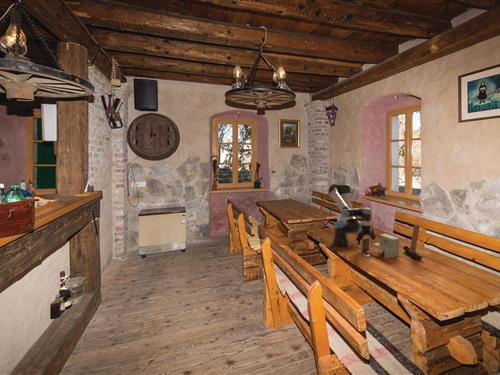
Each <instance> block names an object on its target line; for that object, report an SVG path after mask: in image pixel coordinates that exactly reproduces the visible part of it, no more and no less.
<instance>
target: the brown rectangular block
mask: <svg viewBox="0 0 500 375" xmlns="http://www.w3.org/2000/svg"><path fill="white" fill-rule="evenodd" d="M361 249H362V252H364V253H368V254H371V255H372V256H374V257H375V258H380V257H381V255H380V254H378V253H377V252H376V253H375V252H374V251H372V250H370V238H369V237H363V238H362V239H361Z"/></svg>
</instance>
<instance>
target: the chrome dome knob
mask: <svg viewBox="0 0 500 375" xmlns="http://www.w3.org/2000/svg"><path fill="white" fill-rule="evenodd" d="M371 255H372V254H370V253H367V252H364V253H363V257H366V258H370V257H371Z"/></svg>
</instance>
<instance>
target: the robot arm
mask: <svg viewBox="0 0 500 375" xmlns="http://www.w3.org/2000/svg"><path fill="white" fill-rule="evenodd" d="M327 192H328V195H329V197H330V198H332V199H333V201H334V203H335V204H336V206H338V208H339V210H341V211H340V214H341V217H342V218H345V220H343V219H342V220H337V221H335V222H334V237H333V240H332V245H334V246H337V247H341V248H342V247H347V246H349V240H348V235H349V234H357V236H356V238H355V241H357V248H359V249H362V240H363V238H364V236H369V237H370V238H369V247H373V246H372V244H374V240H375V239H376V238H377V237H376V235H375V233H374V229H373V228H371V227H372V225H371V224H372V221H371V220H372V209H371V208H370V207H363V208H362V207H359V206H358V207H355V208H354V207H353V204H352V200H351V198H350V196H351V193H352V187H351V185H350V184H348V183H345V182H344V183H333V184H331V185H330V186H329V187H328V191H327ZM358 217H361V221H360V220H358Z"/></svg>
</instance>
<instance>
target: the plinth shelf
mask: <svg viewBox="0 0 500 375" xmlns="http://www.w3.org/2000/svg"><path fill="white" fill-rule="evenodd" d="M371 247H374V248H376V249H379V250H381V251H383V252H384V256H383V257H384V259H390V258H395V257H399V255H400V253H399V252H400V237H396V236H393V235H391V234H388V233H382V234H379V242H375V243H374V242H373V244H372V246H371Z"/></svg>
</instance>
